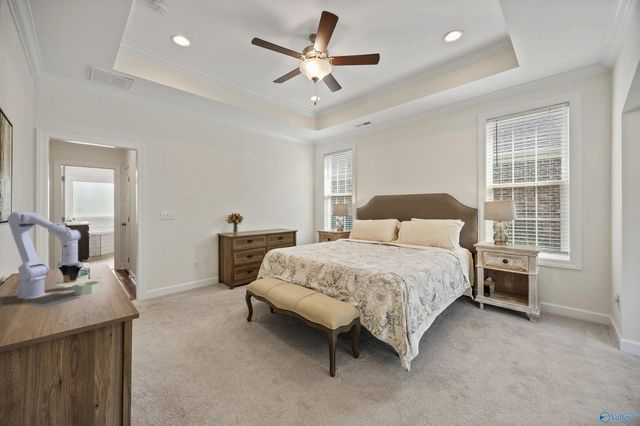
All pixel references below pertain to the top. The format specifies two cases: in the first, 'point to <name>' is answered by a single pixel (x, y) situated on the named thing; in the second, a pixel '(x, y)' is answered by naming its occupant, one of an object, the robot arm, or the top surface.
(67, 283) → the cover sheet
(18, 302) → the top surface
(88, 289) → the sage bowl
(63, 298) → the charcoal mat
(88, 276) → the syrup box
